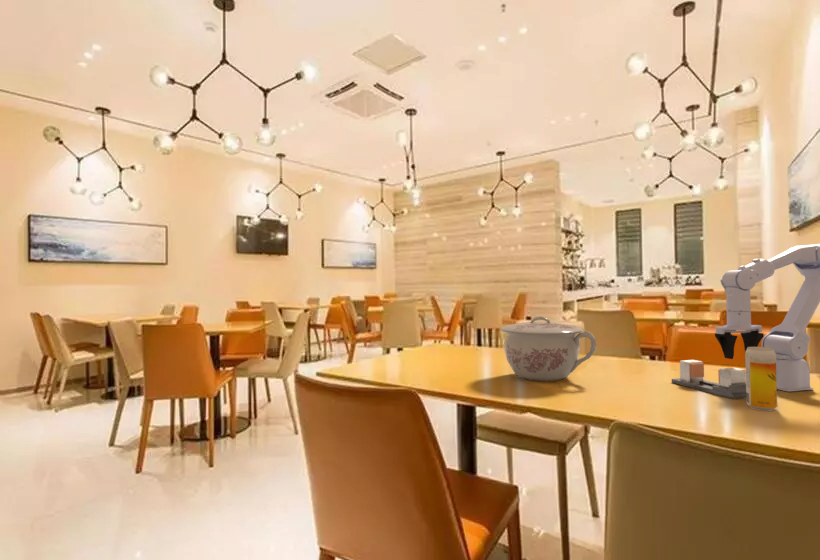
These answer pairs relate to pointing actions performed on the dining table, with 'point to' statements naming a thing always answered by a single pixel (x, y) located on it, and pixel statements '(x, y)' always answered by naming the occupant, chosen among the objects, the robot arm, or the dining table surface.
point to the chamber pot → (544, 349)
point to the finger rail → (694, 379)
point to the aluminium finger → (731, 377)
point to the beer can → (761, 378)
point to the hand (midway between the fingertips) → (739, 357)
